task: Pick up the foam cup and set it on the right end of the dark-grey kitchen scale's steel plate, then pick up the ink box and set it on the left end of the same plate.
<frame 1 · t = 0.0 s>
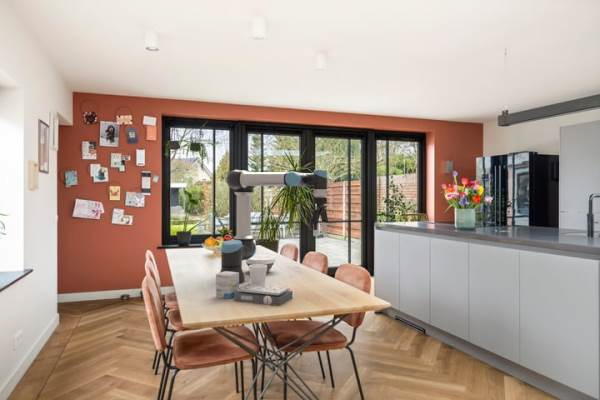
hand: (320, 234, 234), 28 cm above the table, fingers open, 13 cm apart
bowl: (260, 272, 269), on the table
scale: (263, 299, 201), on the table
plate: (263, 289, 201), point 5 cm above the table, slide at 0.4 cm
ink box: (227, 296, 207), on the table
foam cup: (257, 290, 219), on the table
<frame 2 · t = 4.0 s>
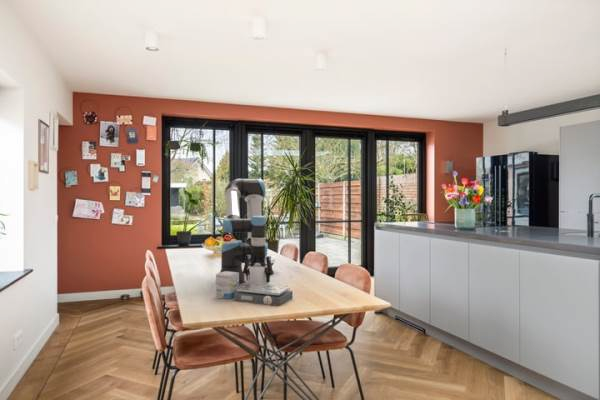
hand: (257, 287, 219), 1 cm above the table, fingers closed on foam cup, 9 cm apart
foam cup: (257, 290, 219), on the table, touching gripper
everything else where it was.
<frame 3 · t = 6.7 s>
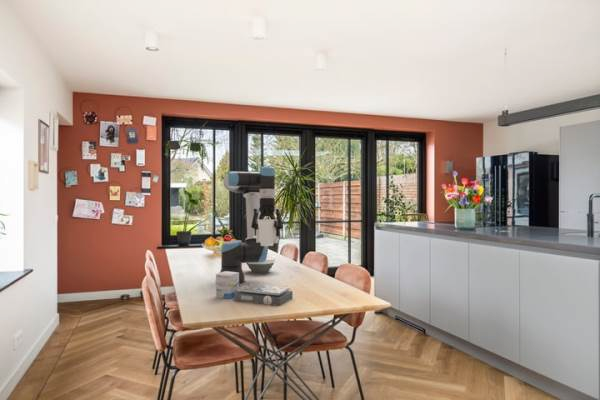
hand: (267, 242, 207), 27 cm above the table, fingers closed on foam cup, 9 cm apart
foam cup: (267, 245, 207), point 25 cm above the table, touching gripper
everything else where it was.
when the fingers open (8 cm above the table, at t = 9.8 s): foam cup drops 2 cm, resting on plate.
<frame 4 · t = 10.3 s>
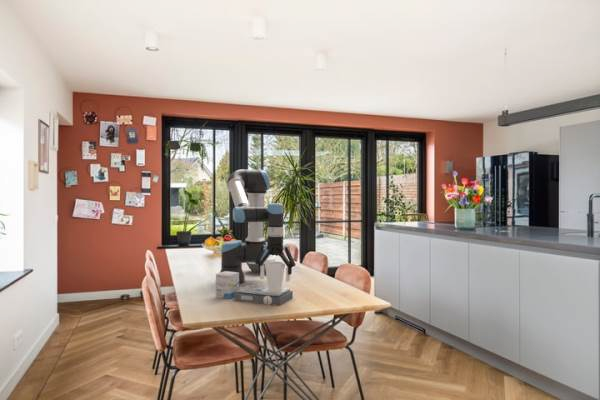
hand: (274, 280, 199), 10 cm above the table, fingers open, 13 cm apart
plate: (263, 289, 201), point 4 cm above the table, slide at 0.8 cm, touching foam cup
foam cup: (274, 290, 199), point 5 cm above the table, touching plate
everything else where it was.
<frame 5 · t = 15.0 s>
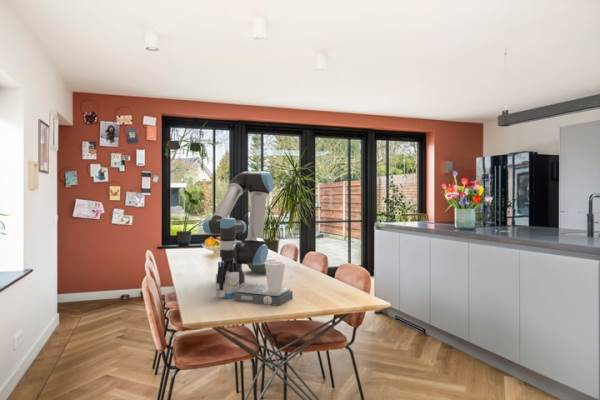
hand: (227, 294, 207), 1 cm above the table, fingers closed on ink box, 9 cm apart
ink box: (227, 296, 207), on the table, touching gripper
everything else where it was.
when the fingers open (8 cm above the table, at t = 20.4 s): ink box drops 2 cm, resting on plate.
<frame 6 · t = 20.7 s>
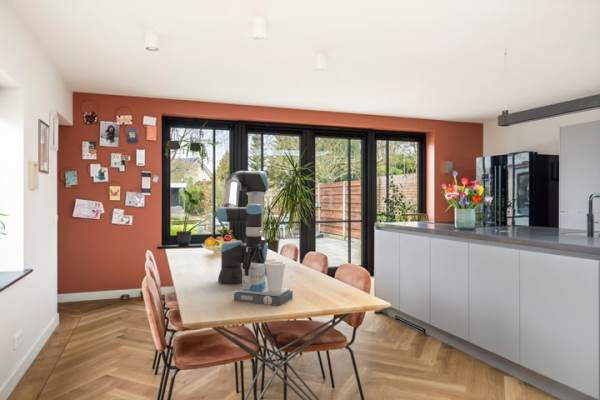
hand: (253, 280, 203), 9 cm above the table, fingers open, 11 cm apart
plate: (263, 290, 201), point 4 cm above the table, slide at 0.8 cm, touching foam cup, ink box
ink box: (253, 288, 204), point 5 cm above the table, touching plate
everything else where it was.
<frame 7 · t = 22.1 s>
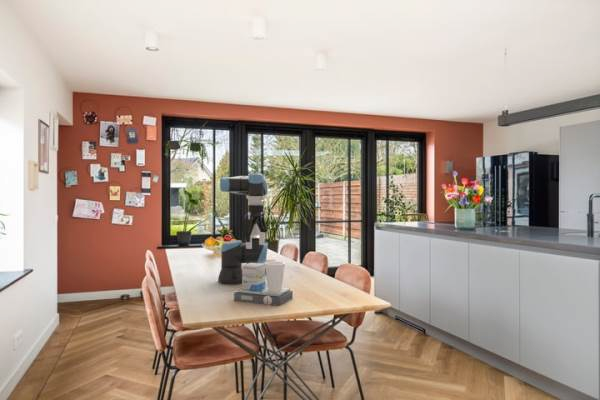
hand: (255, 246, 209), 24 cm above the table, fingers open, 13 cm apart
nothing on the table moved.
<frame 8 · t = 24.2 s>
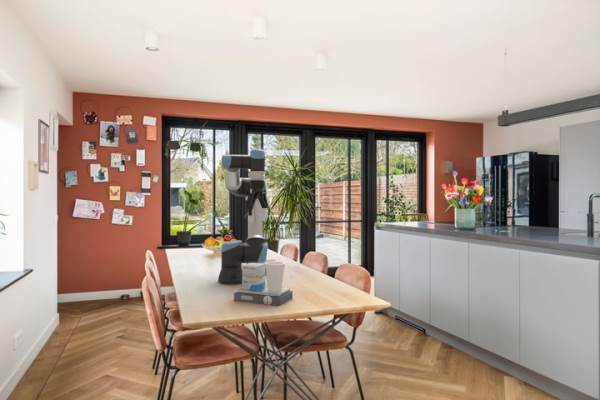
hand: (257, 221, 213), 37 cm above the table, fingers open, 13 cm apart
nothing on the table moved.
at the end: foam cup inside the target area on the scale (0.5 cm from its centre), point 4.7 cm above the scale's base; ink box inside the target area on the scale (0.5 cm from its centre), point 4.7 cm above the scale's base; foam cup tilted 0° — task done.
